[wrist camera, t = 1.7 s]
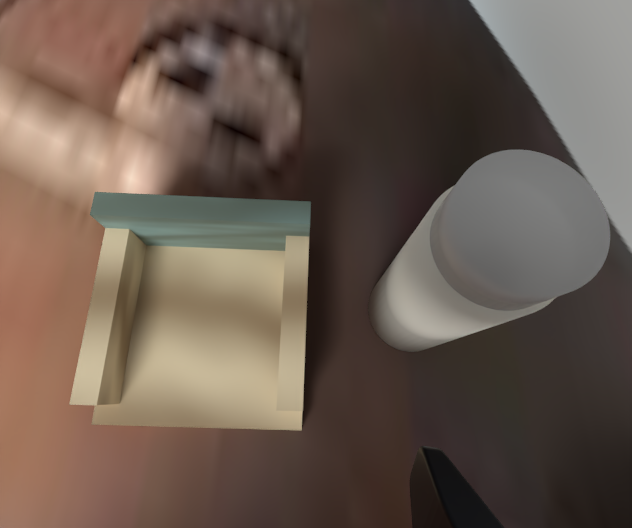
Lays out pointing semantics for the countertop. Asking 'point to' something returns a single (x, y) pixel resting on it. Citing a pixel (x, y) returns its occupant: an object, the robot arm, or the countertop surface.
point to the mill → (492, 251)
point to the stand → (197, 313)
